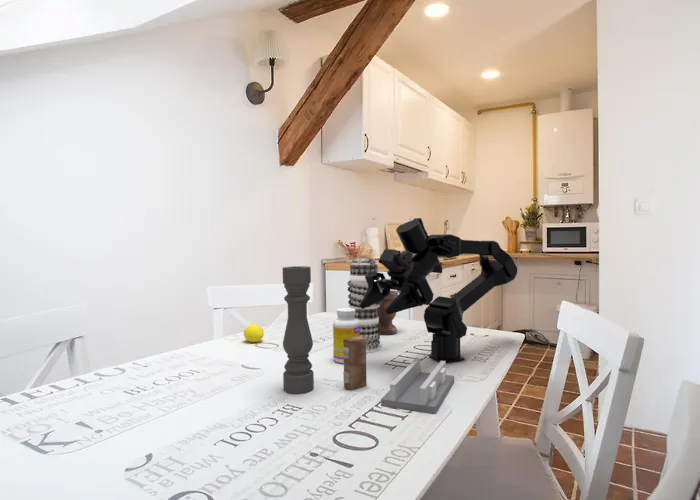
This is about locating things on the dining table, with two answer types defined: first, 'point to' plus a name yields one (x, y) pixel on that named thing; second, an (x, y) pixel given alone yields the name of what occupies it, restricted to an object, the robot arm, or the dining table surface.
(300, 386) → the candle holder
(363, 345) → the brown wooden block
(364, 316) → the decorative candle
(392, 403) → the grey long channel piece
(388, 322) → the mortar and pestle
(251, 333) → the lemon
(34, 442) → the dining table surface
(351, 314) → the supplement bottle
